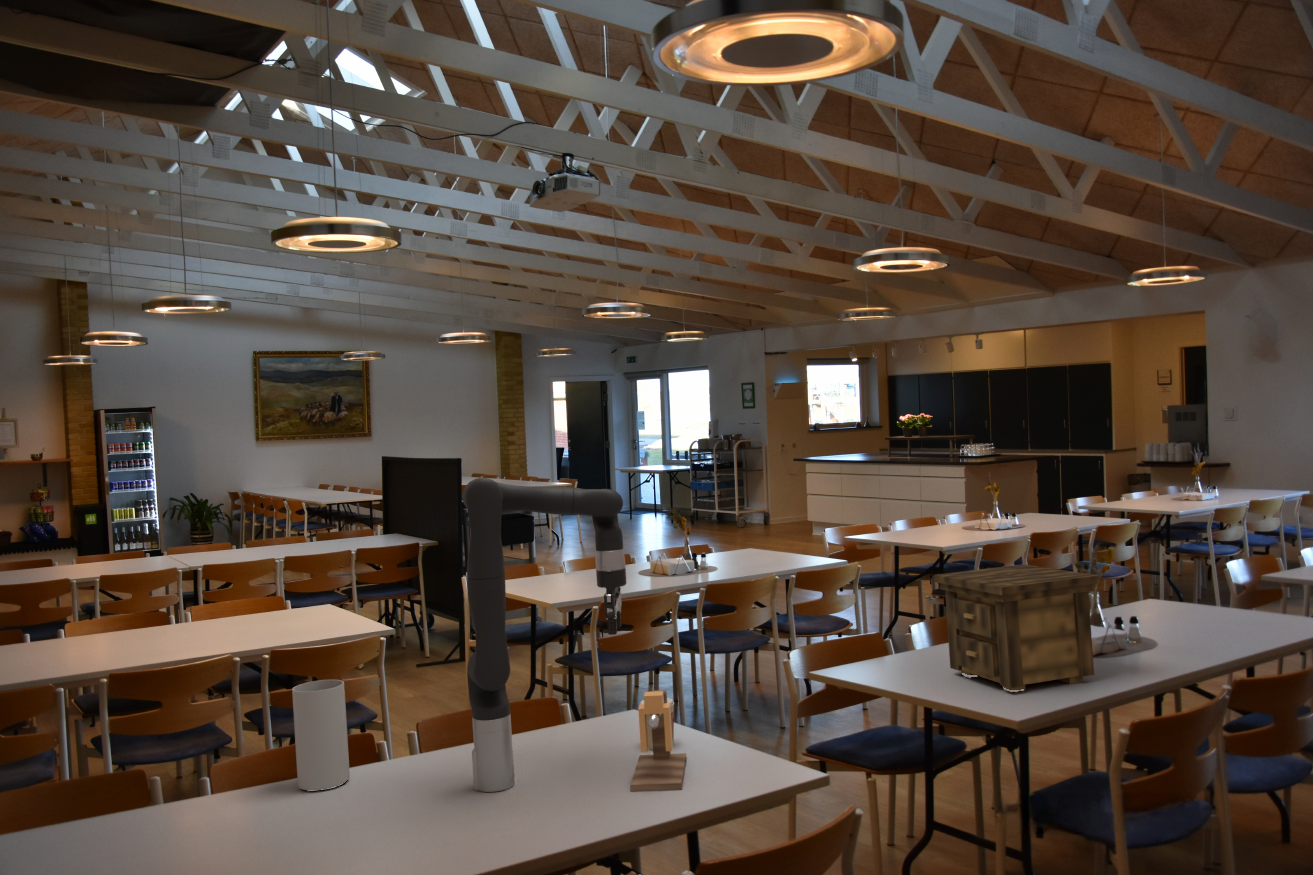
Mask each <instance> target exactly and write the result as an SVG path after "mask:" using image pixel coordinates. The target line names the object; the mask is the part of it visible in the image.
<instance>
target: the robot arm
mask: <svg viewBox="0 0 1313 875" xmlns="http://www.w3.org/2000/svg"><path fill="white" fill-rule="evenodd" d="M461 498H462V503H463V505H464V506H465V508H466V509H467V514H468V522H469V533H470V536H469V537H470V540H469V548H468V553H467V554H468V555H467V563H466V564H467V566H466V592H467V600H468V604H469V610H470V614H471V620H472V622H473V627H474V632H475V634H474V635H475V651H474V652H473V653H472V654H471V656H470V657H469V660H468V661H467V668H466V670H467V672H466V676H467V688H468V697H469V698H468V700H469V705H470V708H471V709H470V710H471V717H472V720H471V721H472V732H473V749H472V750H471V759H472V761H471V762H472V776H473V778H472V779H473V791H480V792H485V793H487V792H488V793H491V792H492V793H495V792H500V791H505V790H509V789H510V788H513V786H514V785H515V783H516V780H515V768H514V767H515V765H514V750H513V734H512V721H511V720H512V719H511V718H512V717H511V716H512V715H511V704H510V700H509V697H508V694H507V689H506V688H507V687H506V683H508V680H509V678H510V674H511V664H510V663H511V662H510V658H509V649H508V643H507V634H506V633H507V632H506V621H507V620H506V613H507V612H506V610H507V609H506V608H507V606H506V604H507V603H506V596H507V595H506V593H507V592H506V571H505V570H506V569H505V559H504V550H503V544H502V513H503V511H504V512H505V511H523V512H532V513H540V514H546V515H563V516H579V515H580V516H582V515H584V516H591V518H592V524H593V527H594V541H595V572H596V573H595V574H596V575H595V576H596V586H597V587H598V588H601V589H605V593H604V594H603V602H604V604H603V605H604V608H603V609H604V618H605V619H606V622H607V635H610V636H613V635H614V636H615V635H617V633H618V629H620V628H621V627H622V618H621V613H622V608H623V606H622V605H623V604H622V591H621V589H622V588H621V587H624V586H626V585H627V571H626V556H625V551H624V537H623V531H622V529H621V527H620V525H619V516H618V515H619V514H620V513H621V511H622V510H623V508H624V499H623V497H622V495H621V494H620V493H619V492H618V491H616V490H614V489H608V488H601V489H600V488H599V489H597V488H596V489H595V488H594V489H593V488H592V489H591V488H589V489H587V488H586V489H585V488H579V487H574V486H573V487H572V486H571V487H570V486H559V485H558V486H557V485H556V486H554V485H553V486H552V485H551V486H550V485H547V486H546V485H544V486H543V485H542V486H541V485H537V486H534V485H533V486H531V485H529V486H526V485H524V486H523V485H512V484H507V483H503V482H502V483H501V482H498V481H495V480H493V479H491V478H488V477H479V478H474V479H472V480H470V481H469V482H468V483H467V484H466V485H465V487H464V488H463V491H462V497H461Z"/></svg>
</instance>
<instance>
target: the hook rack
mask: <svg viewBox="0 0 1313 875" xmlns="http://www.w3.org/2000/svg"><path fill="white" fill-rule="evenodd" d="M655 691H663V696H664V703H667V698H668V693H667V689H661V690H660V689H659V690H658V689H657V690H650V692H655ZM648 727H649V728H651V729H652V742H653V750H652V754H639V757H638V758H637V763H636V764H635V765H636V766H635V770H634V772H633V775H632V779H631V781H630V785H629V786H630V788H629V789H630V792H649V791H650V792H654V791H657V792H658V791H681V790H682V789H683V784H684V778H685V771H686V766H687V759H688V758H687V753H686V752H685V753H684V752H683V753H672V752H671V751H666V745H665V729H664V714H650V717H649V721H648Z"/></svg>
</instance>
